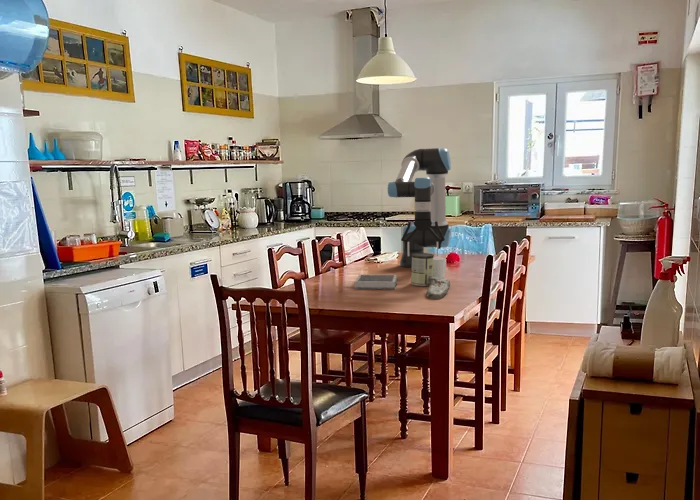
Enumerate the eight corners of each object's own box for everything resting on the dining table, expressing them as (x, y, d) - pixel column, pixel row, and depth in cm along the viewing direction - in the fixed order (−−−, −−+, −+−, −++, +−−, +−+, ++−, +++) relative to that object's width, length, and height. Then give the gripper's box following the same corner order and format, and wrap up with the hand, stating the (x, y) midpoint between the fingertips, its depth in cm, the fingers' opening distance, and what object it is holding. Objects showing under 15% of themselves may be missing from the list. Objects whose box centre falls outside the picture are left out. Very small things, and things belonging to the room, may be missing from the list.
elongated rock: (422, 302, 254) (445, 304, 252) (422, 290, 253) (446, 292, 251) (430, 282, 287) (451, 283, 285) (431, 271, 286) (452, 273, 284)
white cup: (445, 280, 293) (445, 259, 291) (429, 279, 294) (429, 259, 293) (446, 277, 300) (446, 257, 299) (430, 276, 302) (430, 257, 301)
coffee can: (412, 281, 290) (414, 252, 288) (434, 282, 287) (435, 253, 285) (408, 285, 280) (409, 255, 278) (430, 286, 277) (431, 256, 275)
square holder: (359, 281, 294) (359, 274, 293) (396, 281, 291) (396, 274, 291) (354, 289, 276) (354, 281, 275) (394, 289, 273) (394, 282, 273)
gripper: (395, 211, 277) (395, 257, 279) (450, 211, 273) (450, 257, 276) (396, 210, 284) (396, 254, 287) (449, 210, 281) (449, 254, 283)
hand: (422, 256), depth 281 cm, fingers open, 13 cm apart
